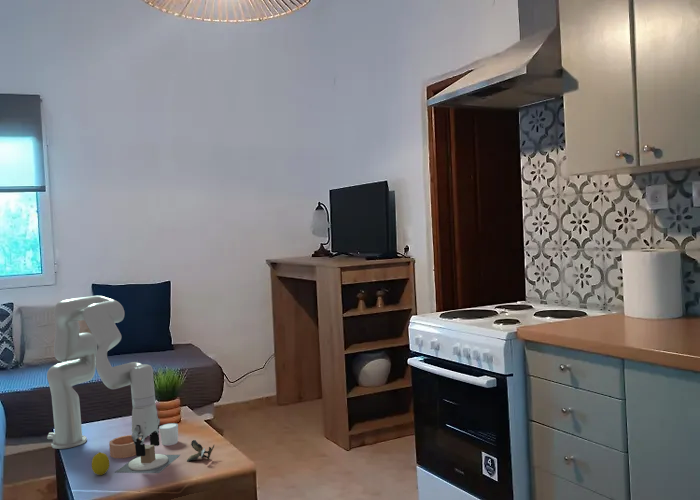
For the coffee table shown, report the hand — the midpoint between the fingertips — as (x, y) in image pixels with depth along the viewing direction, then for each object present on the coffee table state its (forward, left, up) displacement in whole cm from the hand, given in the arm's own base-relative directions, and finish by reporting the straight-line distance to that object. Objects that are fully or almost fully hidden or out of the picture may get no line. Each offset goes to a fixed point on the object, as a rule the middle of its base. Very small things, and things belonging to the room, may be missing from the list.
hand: (148, 450), depth 219 cm
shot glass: (-2, +20, -5) cm, 21 cm away
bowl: (-14, +10, -5) cm, 18 cm away
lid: (0, 0, -5) cm, 5 cm away
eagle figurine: (+16, +5, -5) cm, 18 cm away
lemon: (-12, -10, -5) cm, 16 cm away
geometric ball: (-17, +27, -5) cm, 33 cm away
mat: (0, 0, -5) cm, 5 cm away
